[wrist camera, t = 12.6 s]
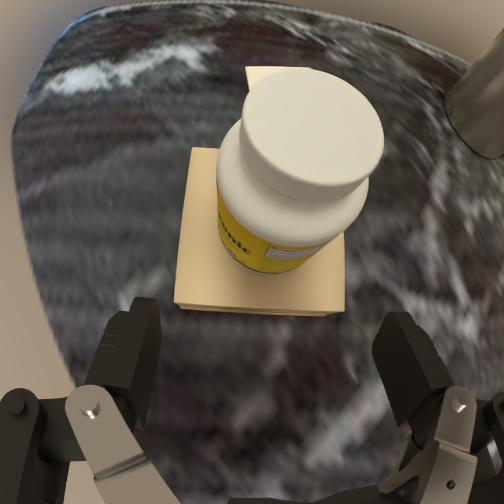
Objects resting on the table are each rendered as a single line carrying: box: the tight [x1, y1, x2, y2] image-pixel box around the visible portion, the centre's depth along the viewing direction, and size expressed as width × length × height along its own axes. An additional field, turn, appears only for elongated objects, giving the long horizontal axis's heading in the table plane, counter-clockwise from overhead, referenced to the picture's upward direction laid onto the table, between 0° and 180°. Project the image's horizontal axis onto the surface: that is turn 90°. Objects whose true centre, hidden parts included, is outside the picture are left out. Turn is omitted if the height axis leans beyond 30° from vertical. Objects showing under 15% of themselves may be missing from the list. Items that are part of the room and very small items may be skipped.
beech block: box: [174, 147, 345, 316], centre depth 19 cm, size 9×9×4 cm
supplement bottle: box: [216, 68, 384, 275], centre depth 12 cm, size 5×5×10 cm
